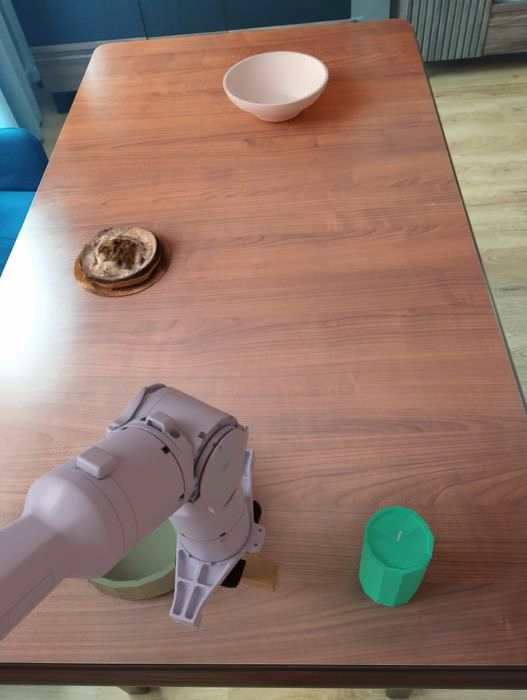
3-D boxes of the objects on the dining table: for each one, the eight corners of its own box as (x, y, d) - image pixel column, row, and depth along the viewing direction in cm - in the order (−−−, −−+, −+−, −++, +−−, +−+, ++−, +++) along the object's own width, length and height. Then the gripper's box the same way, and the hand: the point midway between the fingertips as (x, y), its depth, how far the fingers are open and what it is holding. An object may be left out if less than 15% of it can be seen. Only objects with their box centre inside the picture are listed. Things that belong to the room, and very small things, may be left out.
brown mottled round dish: (187, 241, 92) (182, 220, 89) (138, 308, 84) (130, 288, 81) (110, 221, 97) (102, 201, 93) (56, 283, 89) (45, 263, 85)
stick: (274, 593, 53) (272, 586, 51) (184, 566, 55) (179, 558, 54) (281, 569, 54) (279, 561, 53) (192, 544, 57) (188, 536, 55)
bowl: (207, 119, 113) (201, 85, 108) (271, 75, 121) (269, 42, 116) (284, 152, 104) (282, 117, 99) (348, 102, 113) (350, 67, 107)
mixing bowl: (184, 620, 58) (174, 607, 54) (51, 577, 61) (32, 562, 57) (234, 481, 66) (228, 461, 62) (114, 452, 70) (102, 431, 66)
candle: (382, 619, 56) (394, 582, 47) (346, 565, 60) (350, 520, 50) (432, 585, 58) (452, 543, 48) (394, 534, 61) (406, 486, 52)
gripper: (224, 621, 38) (246, 661, 49) (285, 431, 46) (292, 501, 57) (127, 590, 40) (169, 635, 50) (202, 413, 48) (224, 484, 59)
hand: (229, 563), depth 54 cm, fingers closed on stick, 2 cm apart
